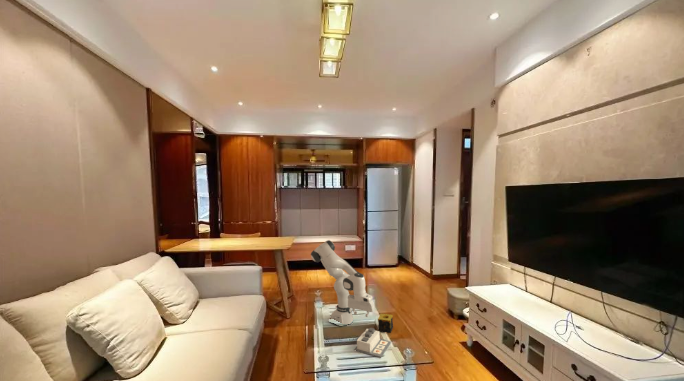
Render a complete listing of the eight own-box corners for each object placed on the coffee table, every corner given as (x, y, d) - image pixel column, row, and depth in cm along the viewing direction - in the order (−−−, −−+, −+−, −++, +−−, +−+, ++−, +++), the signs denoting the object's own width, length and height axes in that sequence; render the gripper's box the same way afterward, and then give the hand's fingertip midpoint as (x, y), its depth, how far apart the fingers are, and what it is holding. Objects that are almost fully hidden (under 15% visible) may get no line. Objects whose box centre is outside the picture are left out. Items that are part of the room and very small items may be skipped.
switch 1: (362, 348, 178) (361, 339, 178) (364, 345, 181) (363, 336, 181) (366, 349, 176) (366, 340, 176) (369, 346, 179) (368, 338, 179)
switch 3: (365, 342, 183) (364, 333, 183) (367, 339, 186) (366, 331, 186) (370, 343, 181) (369, 334, 181) (372, 340, 184) (371, 332, 184)
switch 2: (368, 338, 188) (368, 329, 188) (370, 335, 191) (370, 327, 191) (373, 339, 186) (372, 330, 186) (375, 336, 189) (374, 328, 189)
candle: (378, 332, 201) (377, 319, 201) (381, 325, 210) (380, 313, 211) (391, 333, 197) (390, 320, 197) (393, 327, 207) (392, 314, 207)
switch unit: (354, 350, 179) (353, 340, 179) (365, 336, 195) (365, 327, 195) (380, 358, 169) (380, 347, 169) (390, 342, 185) (390, 333, 185)
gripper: (345, 295, 189) (346, 314, 189) (370, 300, 178) (372, 320, 178) (349, 292, 194) (350, 311, 194) (374, 296, 184) (375, 316, 184)
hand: (361, 315), depth 186 cm, fingers open, 8 cm apart
